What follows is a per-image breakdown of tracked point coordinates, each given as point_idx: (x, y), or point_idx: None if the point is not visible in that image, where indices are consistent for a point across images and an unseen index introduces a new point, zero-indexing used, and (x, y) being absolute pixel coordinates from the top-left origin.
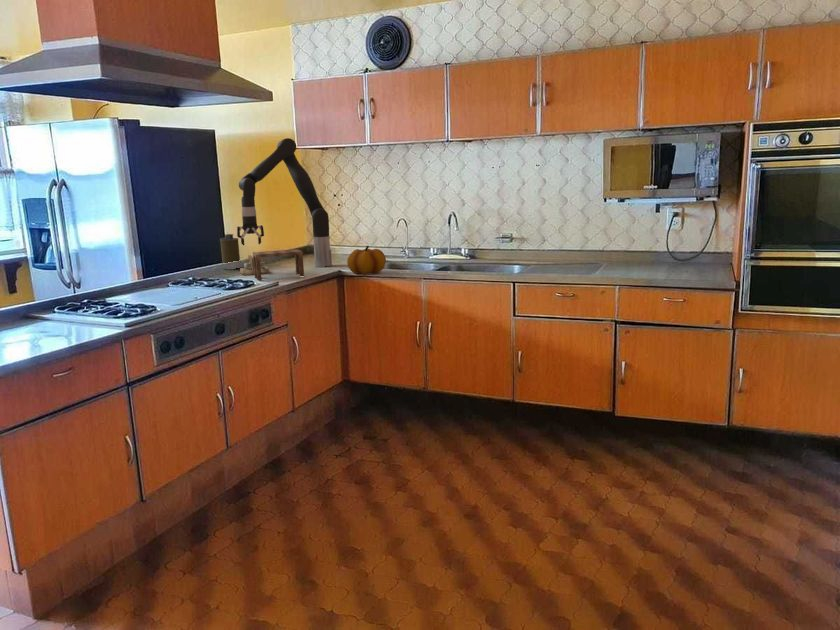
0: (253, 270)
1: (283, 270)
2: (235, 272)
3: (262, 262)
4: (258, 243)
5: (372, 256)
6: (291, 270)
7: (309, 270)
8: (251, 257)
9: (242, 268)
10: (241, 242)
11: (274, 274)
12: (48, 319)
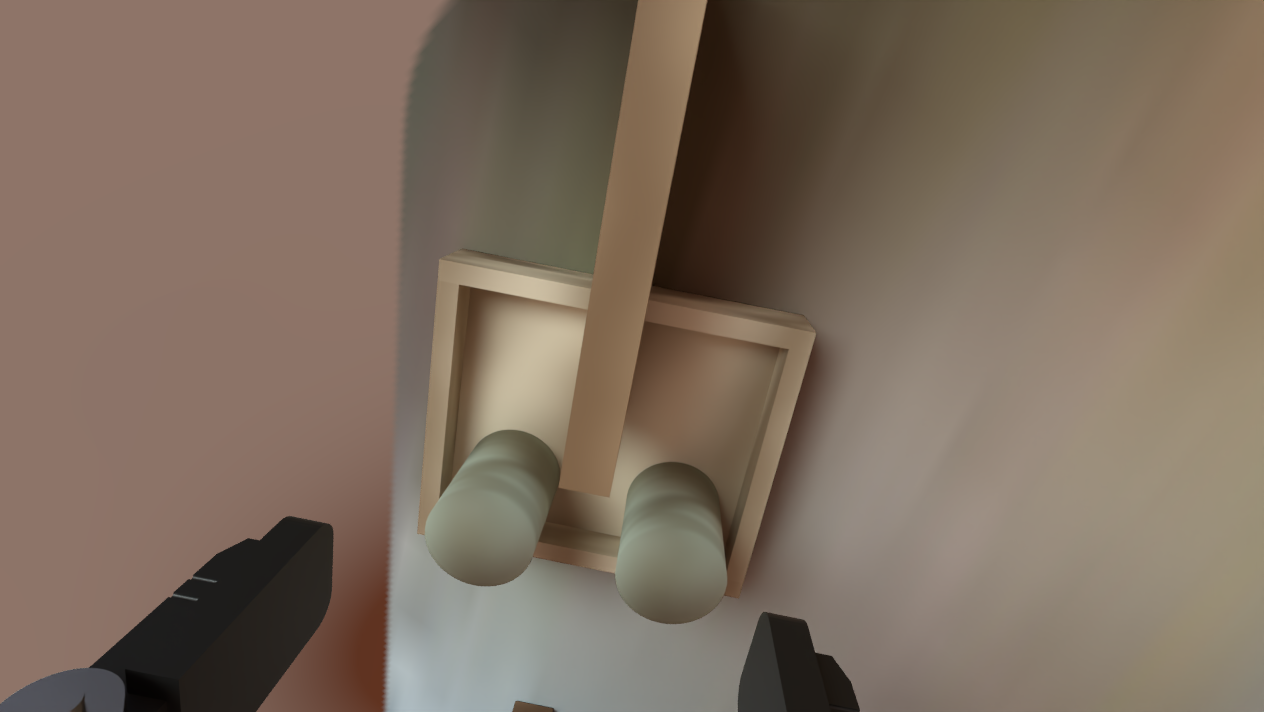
0: (552, 557)
1: (985, 463)
2: (406, 175)
3: (688, 597)
4: (762, 630)
5: None
6: (1057, 531)
7: (1202, 671)
8: (602, 331)
9: (471, 286)
10: (201, 592)
11: None
12: None
